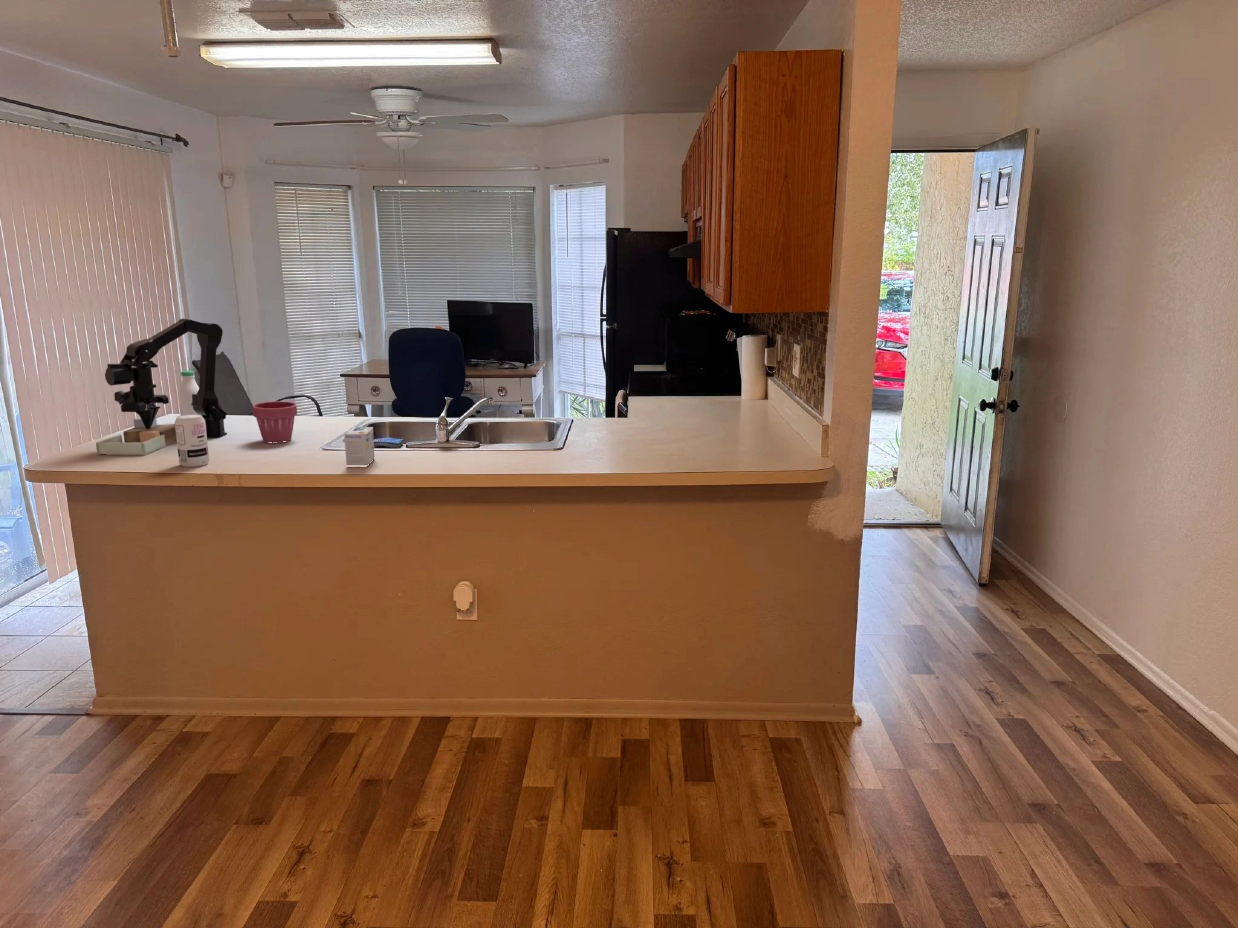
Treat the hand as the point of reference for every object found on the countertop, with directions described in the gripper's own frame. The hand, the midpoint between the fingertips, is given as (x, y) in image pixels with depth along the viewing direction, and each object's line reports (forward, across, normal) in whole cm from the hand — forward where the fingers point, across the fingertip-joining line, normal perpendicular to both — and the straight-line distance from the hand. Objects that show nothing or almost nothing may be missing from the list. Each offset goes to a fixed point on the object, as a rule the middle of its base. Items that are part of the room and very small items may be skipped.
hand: (148, 429), depth 279 cm
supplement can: (+6, +23, +26) cm, 35 cm away
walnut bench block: (+6, -7, -2) cm, 9 cm away
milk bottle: (+6, -41, -6) cm, 42 cm away
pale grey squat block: (+1, -9, -6) cm, 11 cm away
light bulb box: (+6, +20, +76) cm, 79 cm away
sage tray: (+6, +6, -3) cm, 9 cm away
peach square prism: (+3, 0, +1) cm, 3 cm away
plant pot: (+6, -12, +38) cm, 40 cm away
